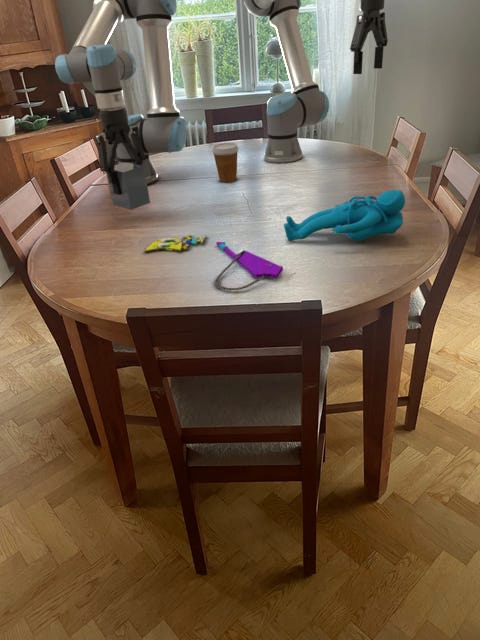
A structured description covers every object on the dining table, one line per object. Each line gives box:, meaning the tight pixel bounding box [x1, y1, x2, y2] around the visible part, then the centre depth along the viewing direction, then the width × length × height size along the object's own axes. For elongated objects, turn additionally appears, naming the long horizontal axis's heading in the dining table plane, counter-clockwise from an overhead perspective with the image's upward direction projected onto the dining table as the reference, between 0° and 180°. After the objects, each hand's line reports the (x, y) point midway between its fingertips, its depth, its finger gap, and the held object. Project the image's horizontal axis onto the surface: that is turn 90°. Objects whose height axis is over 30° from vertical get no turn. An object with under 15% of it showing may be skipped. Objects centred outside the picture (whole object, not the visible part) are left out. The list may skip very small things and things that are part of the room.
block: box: [105, 162, 151, 211], centre depth 145 cm, size 7×9×11 cm
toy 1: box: [144, 234, 207, 254], centre depth 130 cm, size 10×1×15 cm
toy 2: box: [283, 189, 406, 243], centre depth 123 cm, size 17×11×30 cm
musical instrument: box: [214, 241, 284, 291], centre depth 115 cm, size 24×2×20 cm
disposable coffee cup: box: [211, 142, 239, 183], centre depth 173 cm, size 10×10×12 cm
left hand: (128, 189), depth 145 cm, fingers closed on block, 7 cm apart
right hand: (367, 71), depth 162 cm, fingers open, 13 cm apart
